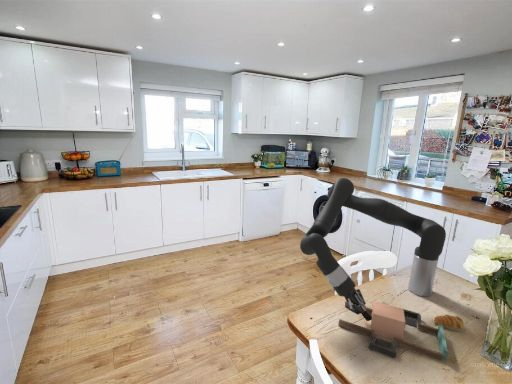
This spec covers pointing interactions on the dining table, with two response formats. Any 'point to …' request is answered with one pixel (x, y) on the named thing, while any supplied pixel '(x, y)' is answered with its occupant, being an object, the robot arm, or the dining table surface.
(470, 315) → the dining table surface
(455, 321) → the pastry
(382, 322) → the block
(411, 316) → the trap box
